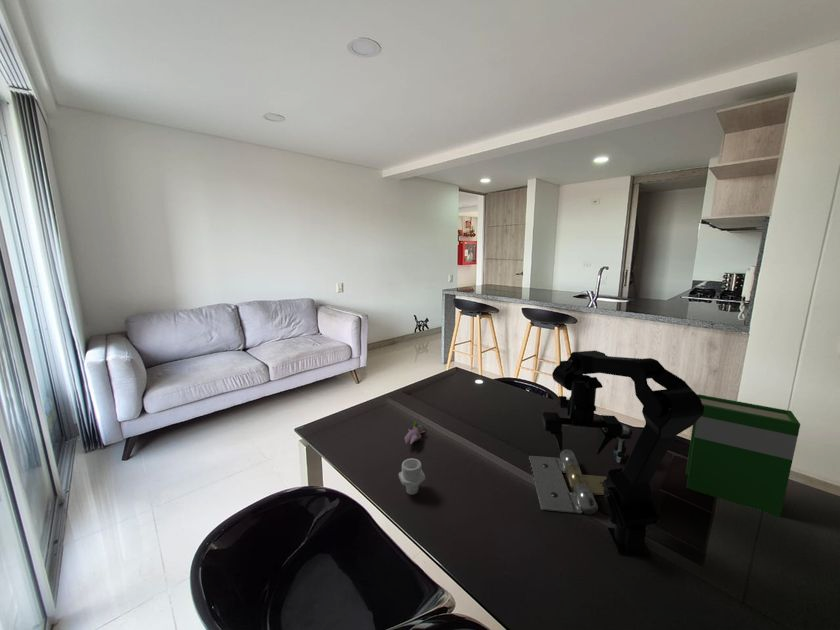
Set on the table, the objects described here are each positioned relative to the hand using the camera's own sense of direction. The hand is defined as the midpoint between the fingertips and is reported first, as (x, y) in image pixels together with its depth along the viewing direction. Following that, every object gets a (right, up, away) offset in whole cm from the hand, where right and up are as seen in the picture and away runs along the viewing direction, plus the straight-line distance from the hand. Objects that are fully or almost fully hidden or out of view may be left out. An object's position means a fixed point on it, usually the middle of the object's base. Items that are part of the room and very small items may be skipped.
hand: (578, 452), depth 92 cm
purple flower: (-44, -6, +26) cm, 52 cm away
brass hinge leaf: (+4, -10, +1) cm, 11 cm away
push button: (+18, -7, +13) cm, 23 cm away
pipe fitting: (-44, -11, +1) cm, 46 cm away
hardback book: (+38, -10, -2) cm, 39 cm away
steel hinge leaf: (-4, -9, +3) cm, 11 cm away
